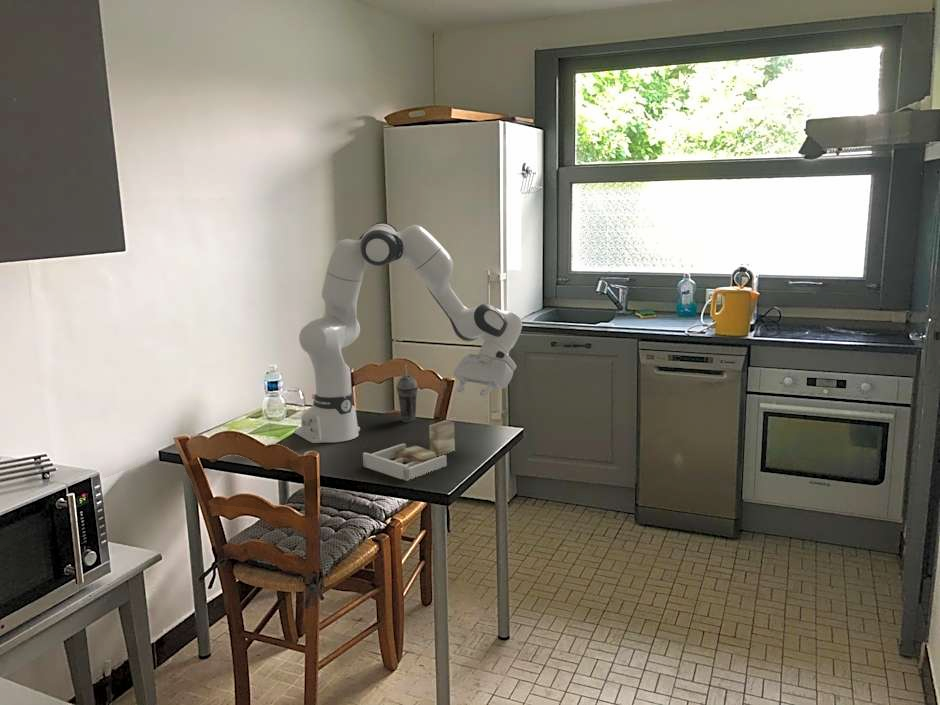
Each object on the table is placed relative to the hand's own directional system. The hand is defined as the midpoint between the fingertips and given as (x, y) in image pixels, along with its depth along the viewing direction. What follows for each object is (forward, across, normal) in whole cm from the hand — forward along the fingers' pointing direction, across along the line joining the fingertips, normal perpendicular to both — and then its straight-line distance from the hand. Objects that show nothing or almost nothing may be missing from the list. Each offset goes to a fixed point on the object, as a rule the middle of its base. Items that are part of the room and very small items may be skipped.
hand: (470, 394), depth 239 cm
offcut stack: (+27, 0, -5) cm, 28 cm away
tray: (+31, 0, -9) cm, 32 cm away
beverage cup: (+8, -33, +14) cm, 37 cm away
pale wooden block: (+20, 0, +2) cm, 20 cm away
